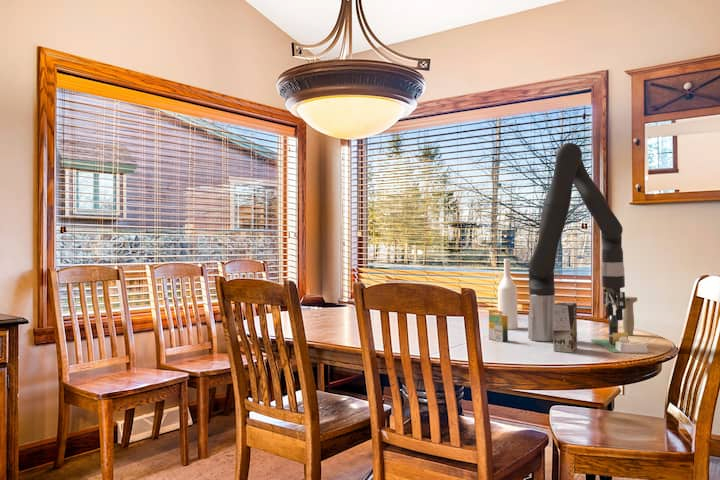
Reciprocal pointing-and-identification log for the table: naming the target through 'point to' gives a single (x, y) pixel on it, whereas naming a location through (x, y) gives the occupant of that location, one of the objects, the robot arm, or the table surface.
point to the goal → (631, 347)
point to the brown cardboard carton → (611, 340)
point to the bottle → (508, 297)
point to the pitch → (608, 345)
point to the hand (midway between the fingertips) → (614, 318)
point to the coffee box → (565, 327)
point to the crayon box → (498, 326)
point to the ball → (624, 340)
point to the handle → (628, 315)
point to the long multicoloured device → (615, 329)
